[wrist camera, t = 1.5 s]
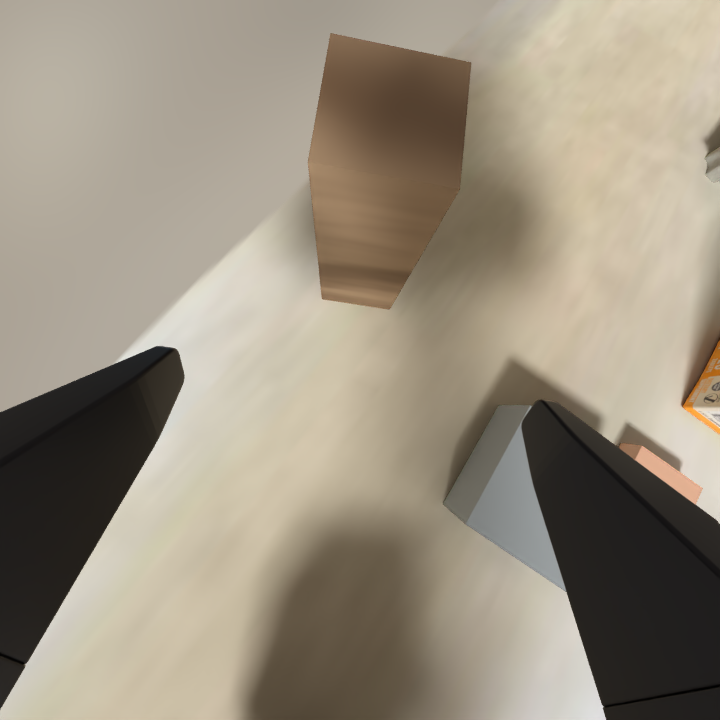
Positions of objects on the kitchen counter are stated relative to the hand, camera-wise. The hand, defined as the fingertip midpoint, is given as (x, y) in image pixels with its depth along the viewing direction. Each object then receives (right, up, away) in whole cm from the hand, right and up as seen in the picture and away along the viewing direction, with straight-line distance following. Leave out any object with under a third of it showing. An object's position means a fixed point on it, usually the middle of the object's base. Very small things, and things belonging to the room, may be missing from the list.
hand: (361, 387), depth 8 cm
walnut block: (0, +7, +15) cm, 17 cm away
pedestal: (+11, -8, +14) cm, 20 cm away
